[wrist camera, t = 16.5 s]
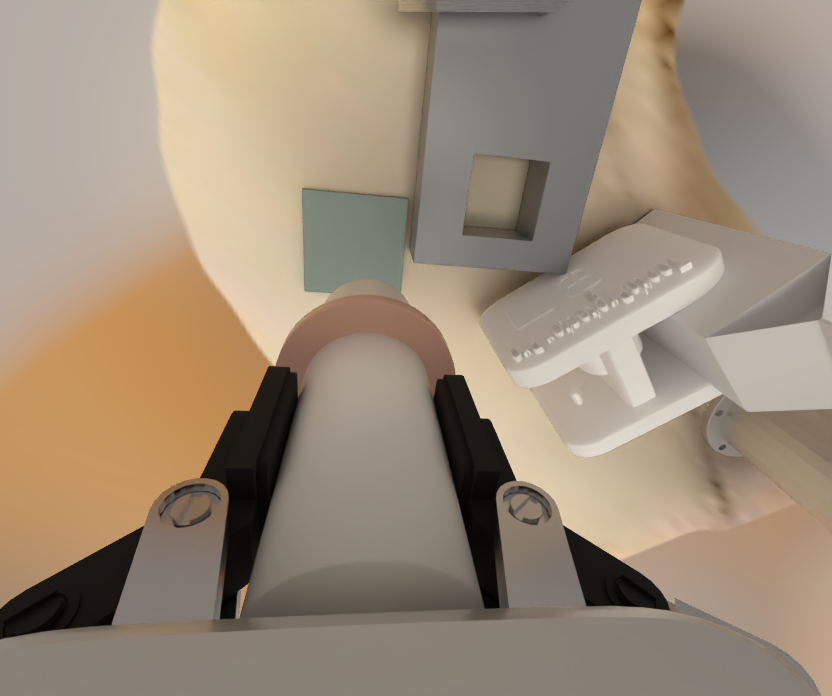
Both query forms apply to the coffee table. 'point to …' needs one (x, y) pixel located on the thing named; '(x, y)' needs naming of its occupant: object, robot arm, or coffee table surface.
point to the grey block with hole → (516, 126)
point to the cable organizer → (606, 336)
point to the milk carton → (755, 319)
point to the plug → (364, 470)
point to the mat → (352, 239)
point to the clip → (481, 6)
